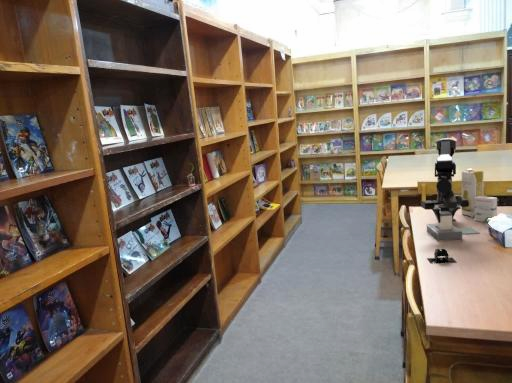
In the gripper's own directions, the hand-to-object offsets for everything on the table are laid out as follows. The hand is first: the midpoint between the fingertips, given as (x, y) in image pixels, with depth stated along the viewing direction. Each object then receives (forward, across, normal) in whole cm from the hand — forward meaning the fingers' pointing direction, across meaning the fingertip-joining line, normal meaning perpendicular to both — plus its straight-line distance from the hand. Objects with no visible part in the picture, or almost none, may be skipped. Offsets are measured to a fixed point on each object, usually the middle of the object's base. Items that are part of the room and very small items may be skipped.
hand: (444, 222), depth 179 cm
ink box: (+6, +26, +17) cm, 31 cm away
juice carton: (+6, +25, +29) cm, 39 cm away
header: (+6, 0, 0) cm, 6 cm away
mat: (+6, +11, +3) cm, 12 cm away
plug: (+5, 0, 0) cm, 5 cm away
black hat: (+7, -12, -29) cm, 32 cm away
